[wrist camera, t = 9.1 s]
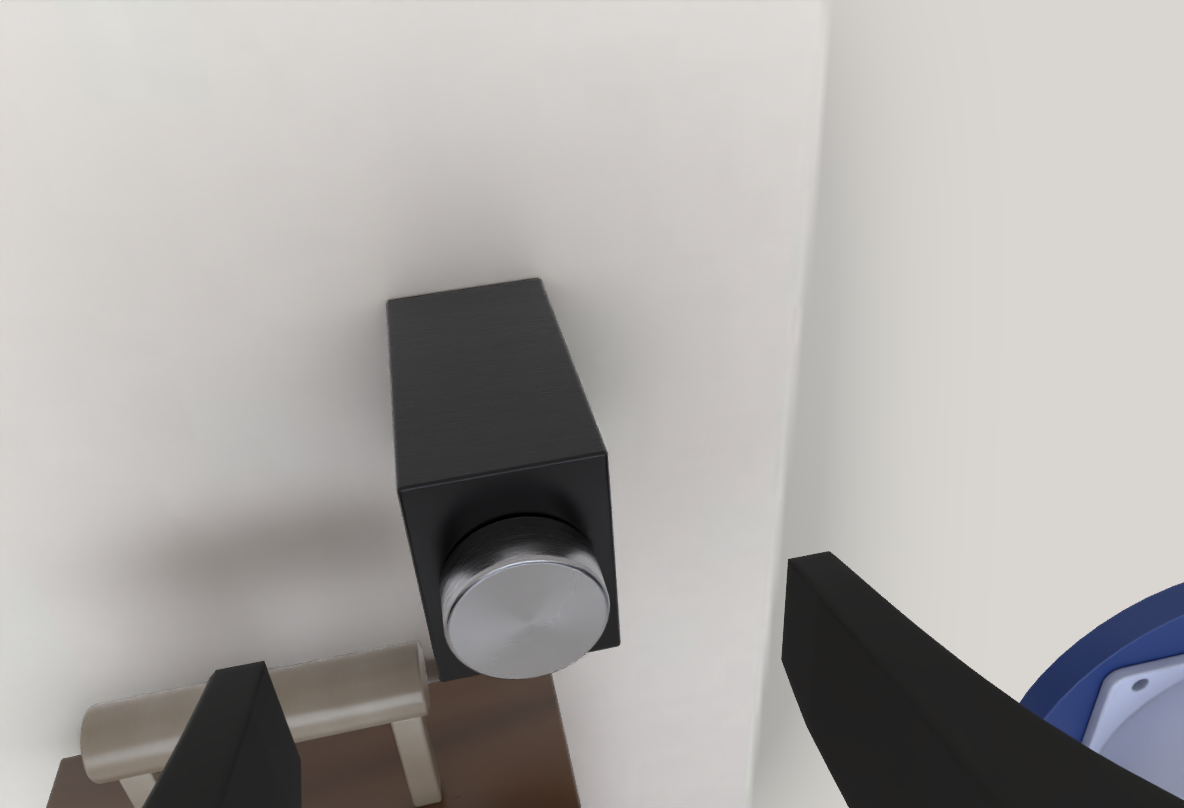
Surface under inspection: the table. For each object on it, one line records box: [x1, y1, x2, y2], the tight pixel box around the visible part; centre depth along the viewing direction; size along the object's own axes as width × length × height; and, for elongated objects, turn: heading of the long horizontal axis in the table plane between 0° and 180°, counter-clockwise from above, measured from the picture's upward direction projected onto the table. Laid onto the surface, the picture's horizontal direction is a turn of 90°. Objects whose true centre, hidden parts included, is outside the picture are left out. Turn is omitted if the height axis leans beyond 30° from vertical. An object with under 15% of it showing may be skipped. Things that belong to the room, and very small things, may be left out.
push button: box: [386, 278, 621, 682], centre depth 16 cm, size 3×4×7 cm
